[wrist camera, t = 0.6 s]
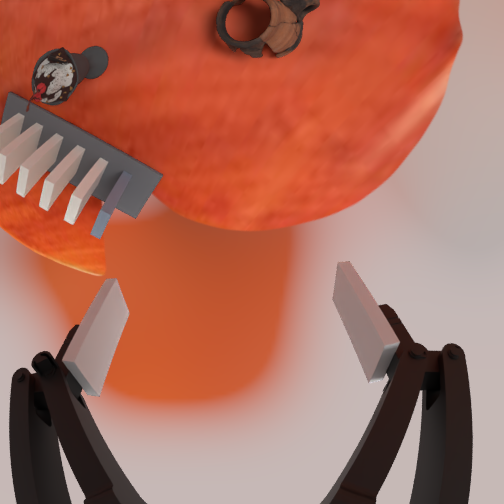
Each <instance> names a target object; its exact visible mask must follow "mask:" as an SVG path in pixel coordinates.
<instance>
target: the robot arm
mask: <svg viewBox="0 0 504 504" xmlns="http://www.w3.org/2000/svg"><path fill="white" fill-rule="evenodd" d="M333 301H334V303H335V306H336V308H337V310H338V312H339V315H340V317H341V319H342V321H343V323H344V326H345V328H346V330H347V333H348V335H349V337H350V339H351V342H352V344H353V347H354V349H355V351H356V353H357V356H358V358H359V361H360V363H361V365H362V368H363V370H364V373H365V375H366V378H367V380H368V383H372V382H377V381H381V380H383V378H384V376H385V374H386V373H387V375H388V377H389V380H388V382H387V384H386V386H385V388H384V390H383V391H384V392H383V394H382V396H381V399H380V401H379V403H378V405H377V408H376V410H375V412H374V414H373V416H372V419H371V420H370V423H369V425H368V427H367V428H366V431H365V433H364V434H363V436H362V438H361V440H360V442H359V444H358V446H357V447H356V449H355V451H354V453H353V455H352V456H351V458H350V460H349V462H348V463H347V465H346V467H345V468H344V470H343V472H342V473H341V475H340V476H339V478H338V480H337V481H336V483H335V484H334V486H333V487H332V489H331V490H330V492H329V493H328V494H327V496H326V497H325V498H324V500H323V501H322V502H321V503H320V504H376V496H377V494H378V492H379V490H380V488H381V486H382V484H383V483H384V481H385V479H386V477H387V475H388V473H389V470H390V468H391V466H392V464H393V462H394V460H395V458H396V455H397V453H398V450H399V448H400V446H401V443H402V441H403V439H404V436H405V433H406V431H407V428H408V425H409V423H410V420H411V417H412V414H413V411H414V408H415V405H416V402H417V399H418V396H419V392H420V390H423V392H422V419H421V432H420V443H419V453H418V460H417V467H416V474H415V479H414V484H413V490H412V494H411V499H410V504H468V500H469V492H470V483H471V472H472V470H471V469H472V448H473V447H472V446H473V443H472V442H473V435H472V410H471V397H470V388H469V379H468V372H467V365H466V359H465V354H464V351H463V349H462V348H461V347H460V346H458V345H456V344H453V343H451V344H447V345H445V346H444V347H443V349H442V351H428V350H427V349H426V348H425V347H424V346H423V345H421V344H419V343H415V342H414V341H413V339H412V338H411V336H410V334H409V333H408V332H407V330H406V328H405V326H404V325H403V324H402V322H401V320H400V319H399V318H398V316H397V314H396V313H395V311H394V310H393V309H392V308H391V307H389V306H388V305H387V304H384V305H377V303H376V301H375V300H374V299H373V297H372V295H371V293H370V292H369V290H368V289H367V287H366V285H365V284H364V282H363V281H362V279H361V278H360V276H359V275H358V273H357V272H356V271H355V269H354V267H353V266H352V264H351V263H350V261H348V262H339V263H338V264H337V271H336V280H335V286H334V293H333ZM128 316H129V311H128V308H127V305H126V303H125V300H124V297H123V295H122V292H121V289H120V286H119V284H118V281H117V279H116V278H114V279H106V280H105V282H104V284H103V285H102V287H101V288H100V290H99V292H98V293H97V295H96V297H95V299H94V300H93V302H92V304H91V305H90V307H89V309H88V311H87V313H86V314H85V316H84V318H83V320H82V322H81V324H80V325H75V326H74V327H73V328H72V329H71V330H70V331H69V333H68V335H67V337H66V339H65V341H64V344H63V345H62V347H61V349H60V351H59V353H58V354H57V356H56V359H54V358H53V356H52V355H51V354H50V352H48V351H43V352H40V353H38V354H37V355H36V356H35V357H34V358H33V360H32V367H33V369H34V370H35V371H36V373H34V374H31V373H30V372H29V371H28V370H27V369H26V368H20V369H18V370H17V371H16V372H15V373H14V375H13V377H12V384H11V395H10V396H11V397H10V416H9V417H10V418H9V438H10V457H11V468H12V478H13V485H14V492H15V497H16V502H17V504H72V503H71V500H70V496H69V492H68V488H67V484H66V480H65V476H64V471H63V467H62V461H61V456H60V449H59V443H58V438H59V441H60V443H61V446H62V448H63V450H64V453H65V455H66V458H67V460H68V462H69V464H70V467H71V469H72V471H73V473H74V475H75V477H76V479H77V481H78V483H79V485H80V487H81V489H82V491H83V493H84V495H85V497H86V499H85V500H84V504H147V503H146V502H144V500H143V499H142V498H141V497H140V496H139V494H138V493H137V492H136V490H135V489H134V487H133V486H132V485H131V483H130V481H129V480H128V479H127V477H126V476H125V474H124V472H123V471H122V469H121V468H120V466H119V465H118V463H117V461H116V460H115V458H114V456H113V455H112V453H111V451H110V450H109V448H108V446H107V444H106V443H105V441H104V439H103V437H102V435H101V434H100V431H99V430H98V427H97V426H96V424H95V422H94V419H93V418H92V415H91V413H90V411H89V409H88V407H87V405H86V403H85V400H84V398H83V396H82V395H81V391H82V388H83V390H84V391H85V392H86V393H87V395H92V396H100V393H101V390H102V387H103V384H104V381H105V378H106V375H107V372H108V369H109V366H110V363H111V361H112V358H113V355H114V352H115V349H116V347H117V344H118V341H119V338H120V336H121V334H122V331H123V328H124V326H125V323H126V321H127V318H128Z"/></svg>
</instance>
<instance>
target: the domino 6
mask: <svg viewBox="0 0 504 504" xmlns="http://www.w3.org/2000/svg"><path fill="white" fill-rule="evenodd" d="M131 177H132V175H131V174H129V173H127V172H126V171H123V173H122V174H121V176H120V177H119V179H118V181H117V182H116V184H115V186H114V187H113V189H112V191H111V192H110V194H109V196H108V198H107V199H106V201H105V203H104V205H103V206H102V208H101V210H100V212H99V215H98V217H97V219H96V222H95V224H94V226H93V229H92V231H91V235H93V236H95V237H97V238H99V239H100V238H101V236H102V234H103V231H104V229H105V227H106V225H107V223H108V221H109V219H110V217H111V215H112V213H113V211H114V209H115V207H116V205H117V203H118V201H119V199H120V197H121V195H122V193H123V192H124V190H125V188H126V186H127V184H128V182H129V181H130V179H131Z"/></svg>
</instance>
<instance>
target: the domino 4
mask: <svg viewBox="0 0 504 504" xmlns="http://www.w3.org/2000/svg"><path fill="white" fill-rule="evenodd" d="M84 151H85V149H84V148H82V147H80V146H79V145H77V146H76V147H75V148H74V149H73V150H72V151H71V152H70V153H69V154H68V155H67V156H66V157H65V158H64V159H63V160H62V161H61V162H60V163H59V164H58V165H57V166H56V167H55V169H54V170H53V171H52V172H51V173H50V174H49V175H48V176H47V177H46V179H45V181H44V185H43V190H42V194H41V199H40V204H39V206H40V207H41V208H43V209H45V210H47V211H48V210H49V208H50V207H51V205H52V204H53V203H54V201H55V200H56V199H57V197H58V196H59V194H60V193H61V192H62V190H63V189H64V188H65V187H66V185H67V184H68V183H69V181H70V180H71V179H72V178H73V176H74V175H75V174H76V172H77V169H78V167H79V164H80V161H81V159H82V156H83V154H84Z"/></svg>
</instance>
